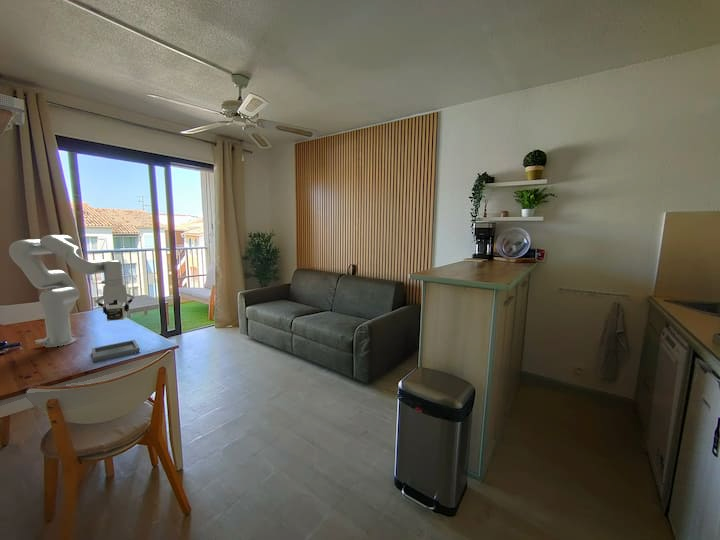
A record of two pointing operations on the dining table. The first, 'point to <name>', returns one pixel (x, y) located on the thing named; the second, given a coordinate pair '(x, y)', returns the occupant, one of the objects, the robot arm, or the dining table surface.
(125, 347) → the grey tray
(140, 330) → the dining table surface
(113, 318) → the medicine bottle
